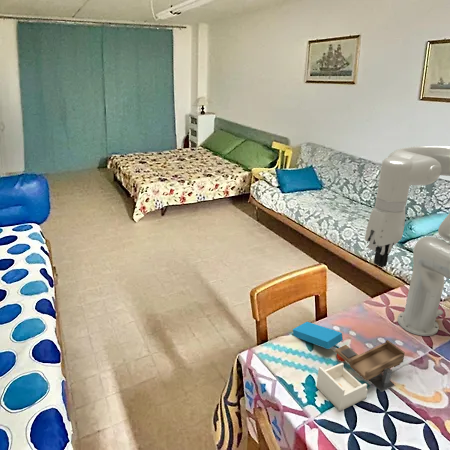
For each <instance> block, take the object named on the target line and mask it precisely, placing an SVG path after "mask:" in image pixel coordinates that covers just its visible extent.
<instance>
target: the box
mask: <svg viewBox="0 0 450 450" xmlns="http://www.w3.org/2000/svg"><path fill="white" fill-rule="evenodd" d="M344 365H345V364H344V362H339V363H338V364H336V365H333V366H331V367H328V368H326V369H324V368H323V367H322V366H319V367H318V371H317V380H316V388H317V389H318V391H320V393H322V394H323V396H325V398H326V399H327V400H328V401H329V402H330V403H331V404H333V406H334V407H335V408H336V409H337V410H338V411H339V412H341V411H344V410H345V409H347V408H350V407H351V406H354V405H355V404H357V403H360V402H362V401H363V400H365V399H367V396H368V389H369V388H367V387H368V384H367V383H361V382H360V381H359V380H357V379H356V377H354V376H353V375H352V374H351V373H350V372H349V371H347V369H346V368H345V367H344ZM338 383H339V384H341V386H342V387H341V386H340V385H339V384H338Z"/></svg>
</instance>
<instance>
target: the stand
mask: <svg viewBox="0 0 450 450" xmlns="http://www.w3.org/2000/svg"><path fill="white" fill-rule="evenodd" d="M392 372H393V370H392V368H388V369H386V370H384V372H383V373H381V374H379V375H377V376H375V377H373V378H371V379H369V380H367V381H368V382H369V383H370V384H371V385H373V386H374V387H375V388H376V389H377V390H379V392H381V393H383V392H384V391H387V390H389V389H390V388H393V387H394V386H396V384H395V383H394V382H392V381H391V376H392Z"/></svg>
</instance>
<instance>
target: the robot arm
mask: <svg viewBox="0 0 450 450" xmlns="http://www.w3.org/2000/svg"><path fill="white" fill-rule="evenodd" d="M440 176H447V177H450V145H430V146H427V145H426V146H420V145H419V146H410V147H409V146H408V147H403V148H399V149H396V150H394V151H393V152H391V153H390V154H389V155H388V156H387V157H385V158H384V159H383V160H382V163H381V166H380V174H379V179H378V185H377V193H376V199H375V205H374V207H373V208H372V211H371V213H370V215H369V219H368V222H367V226H366V232H365V237H364V240H365V242H367V243H368V246H367V248H368V249H369V250H371V251H374V259H373V264H375V265H376V266H379V267H380V268H384V267H386V266H387V265H388V259H389V254H390V253H391V252H392V248H393V247H394V245H396V244H398V243H399V242H400V241H401V240H402V238H403V234H404V229H405V223H406V206H407V200H408V195H409V191H410V187H411V186H428V185H431V184H433V183H434V182H436V181H437V180H439V177H440ZM437 233H438V235H439V236H440V237H441V238H442V239H443V240H442V239H440V238H437V237H433V236H424V237H422V238H420V239H419V240H418V241H416V242H415V243H416V244H415V245H414V249H413V252H412V253H413V254H412V255H413V266H412V267H413V268H412V274H411V279H410V283H409V288H408V292H407V298H406V302H405V307H404V311H402V312H400V313H399V314H398V317H397V323H398V325H399V326H400V327H401V328H403V330H405V331H407V332H409V333H410V334H413V335H417V336H422V337H429V336H433V335H436V334H437V333H438V331H439V328H440V325H439V323H438V322H437V321H436V320H437V318H438V317H439V316H442V315H443V314H444V311H443V310H442V309H440V307H439V306H440V303H441V298H442V294H443V291H444V287H445V278H448V279H450V212H449V213H448V214H447V216H446V217H445V218H444V219H443V221H442V222H441V223H440V224H439V226H438V229H437ZM444 240H445V241H444Z"/></svg>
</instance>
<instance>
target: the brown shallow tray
mask: <svg viewBox="0 0 450 450" xmlns="http://www.w3.org/2000/svg"><path fill="white" fill-rule="evenodd" d="M334 352H335V353H336V355H337V354H338V355H339V356H340V357H342V358H343V359H344V360H345V361H344V362H346V363H347V364H348V365H349V367H350V368H351V369H352V370H353V371H354V372H355V373H356V374H358V375H359V376H360V377H361V378H363V380H365V381H366V382H367V381H368V380H369V379H371V378H373V377H375V376H377V375H379V374H381V373H382V374H383V372H384V370H386V369H388V368H390V369H392V368H396V367H399V366H400V365H401V364H402V363H403V362H404V360H405V353H406V352H405V351H403V350H402V349H401V348H399V347H398V346H397V345H395V344H394V343H392V342H391V341H389V340H388V339H387V340H385V342H383V343H381V344H379V345H377V346H375V347H373V348H370V349H369V350H367V351H365V352H362V353H361V354H358V353H356V352H355V350H353V349H352V348H351V347H349V345H348V344H344V345H341V346H340V347H338V348H337V349H336V351H334Z"/></svg>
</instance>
